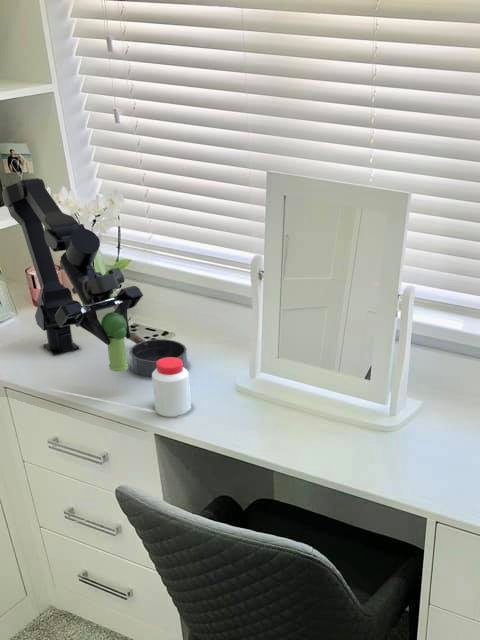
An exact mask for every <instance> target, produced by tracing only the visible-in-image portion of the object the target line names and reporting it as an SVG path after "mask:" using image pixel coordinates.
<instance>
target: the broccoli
mask: <svg viewBox="0 0 480 640" xmlns="http://www.w3.org/2000/svg"><path fill="white" fill-rule="evenodd" d="M100 324H101V326H102V327H103V329H104V331H105V332H106V334H107V336H108V338H109V340H110V344H109V345H107V353H108V360H109V364H108V369H109V371H111V372H114V373H115V372H116V373H117V372H119V373H120V372H124V371H127V370H128V369H129V363H128V360H127V352H126V351H127V349H126V342H125V338H126V337H125V336H126V328H127V323H126V320H125V319H124V317H123V316H122V315H120V314H118V313H115V312H113V311H112V312H111V311H110V312H108V313H106V314H104V316H103V317H102V319H101V322H100Z"/></svg>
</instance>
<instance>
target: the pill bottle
mask: <svg viewBox="0 0 480 640" xmlns="http://www.w3.org/2000/svg"><path fill="white" fill-rule="evenodd" d="M156 366H157V368H156V369H155V370H154V371H153V372H152V378H151V380H152V382H151V383H152V388H153V389H152V391H153V401H154V403H153V404H154V409H155V410H154V411H155V412H156V414H158V415H160V416H163V417H169V418H174V417H176V418H177V417H181V415H183V414H185V413H187V412H189V411H190V410H191V408H192V399H191V384H190V383H191V381H190V373H189V372H190V371H189V370H188V369H187V368H186V369H185V368H184V367H183V361H182V360H181V359H179V358H175V357H166V358H162V359H159V360H158V361H157V362H156Z"/></svg>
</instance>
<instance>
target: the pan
mask: <svg viewBox="0 0 480 640" xmlns="http://www.w3.org/2000/svg"><path fill="white" fill-rule="evenodd" d="M145 343H147V344H148V346H147V347H146V348H145V347H144V344H145ZM187 349H188V348H187V347H186V345H184V344H183V343H181V342H179V341H176V340H172V339H167V338H166V339H165V338H164V339H163V338H162V339H160V338H158V339H147V340H145V341H143V342H140V343H138V344H136V343H135V344H133V346H132V347H130V350H129V358H130V367H131V369H132V372H134V373H135V374H136V375H139V376H140V377H141V376H142V377H145V378H151V379H152V372H153V371H154V370H155V369H156V368H157V366H156V362H157V361H158V360H159V359H162V358H166V357H175V358H179V359H181V360H182V361H183V367H184V368H185V369H187V368H188V364H189V363H188V362H189V361H188V351H187Z"/></svg>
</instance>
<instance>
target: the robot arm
mask: <svg viewBox="0 0 480 640" xmlns="http://www.w3.org/2000/svg"><path fill="white" fill-rule="evenodd" d="M1 196H2V202H3V204H4V206H5V207H6V208H7V209H8V212H9V214H10V217H11V218H12V219H13V220H14V221H16V223H18V224H19V225H20V226H21V230H22V233H23V236H24V240H25V243H26V245H27V249H28V252H29V255H30V258H31V261H32V265H33V268H34V271H35V274H36V278H37V281H38V285H39V288H40V289H39V292H38V297H37V300H36V302H37V307H36V311H35V314H34V318H35V321H36V325H37V326H38V327H39V328H40V329H41V330H42V331H43V332H44V331H45V332H46V339H47V343H44V344H43V345H42V346H43V348H44V349H46V350H47V351H48V352H50V353H51V354H52V355H54V356H57V355H61V354H64V353H69V352H72V351H73V352H74V351H76V350H79V349H80V346H79V345H77V344H76V343H75V342H73V334H72V328H71V327H72V326H73V325H74V326H75V327H76V328H79V327H80V328H82V329H83V330H85V331H87V332H88V333H90V334H92V335H93V336H95V337H96V338H97V339H99V340H100V341H101V342H103V343H104V344H105V345H107V346H108V345H109V344H110V340H109V338H108V336H107V334H106V332H105V331H104V329H103V327H102V326H101V322H100V321H99V318H98V313H97V312H98V311H103V310H106V309H109V308H111V310H112V312H115V313H118V314H120V315H122V316H123V317H124V319H125V320H126V323H127V328H126V336H125V337H124V338H125V339H127V340H130V339H129V338H130V333H131V331H130V324H129V319H128V310H130V309H133V308H134V307H136V306H137V304H138V303H139V302H140V300H141V299H142V298H143V296H144V294H143V292H142V291H141V289H140V287H138V286H136V285H131V286H128V287H124V288H121V289H120V287H121V286H120V285H121V284H123V283H125V276H124V274H123V272H122V271H121V269H120V267H115V268H111V269H109V270H108V271H107V272H108V274H104V275H103V274H102V273H101V272H100V271H98V272H97V271H96V269H95V267H94V265H93V263H94V262H95V259H96V257H97V254H98V252H99V250H100V246H101V241H100V238H99V236H98V235H97V234H96V233H95V232H94V231H92V230H90V229H87V228H85V225H84V224H83V223H79V222H78V221H77V220H76V218H74V217H73V216H72V215H69V214H67V213H65V212H63V211H62V210H61V208H60V207H59V206H58V204H57V203H56V201H55V199H54V198H53V197H52V195H51V194H50V192H49V191H48V190H47V188H46V183H45V182H44V180H43V179H42V178H38V177H35V178H21V179H20V180H18V181H17V182H16V183H13V184H8V185H5V187H4V189H3V190H2V192H1ZM63 251H64V253H62V254H61V256H60V260H59V268H60V270H62V271H64V273H65V275H66V276H67V279H68V280H69V282H70V284H71V286H72V288H71V289H69V287H66V286H64V285H63V284H62V283H61V281H60V278H59V275H58V272H57V268H56V265H55V261H54V258H53V255H52V252H54V253H57V252H63ZM117 289H120V290H119V292H118V293H117V295H115V296H111V295H113V293H114V292H115V291H114V290H117ZM72 294H73V295H76V294H77V297H78V298H79V300H80V301H81V302H80V301H78V300H74V298H73V295H72Z"/></svg>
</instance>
